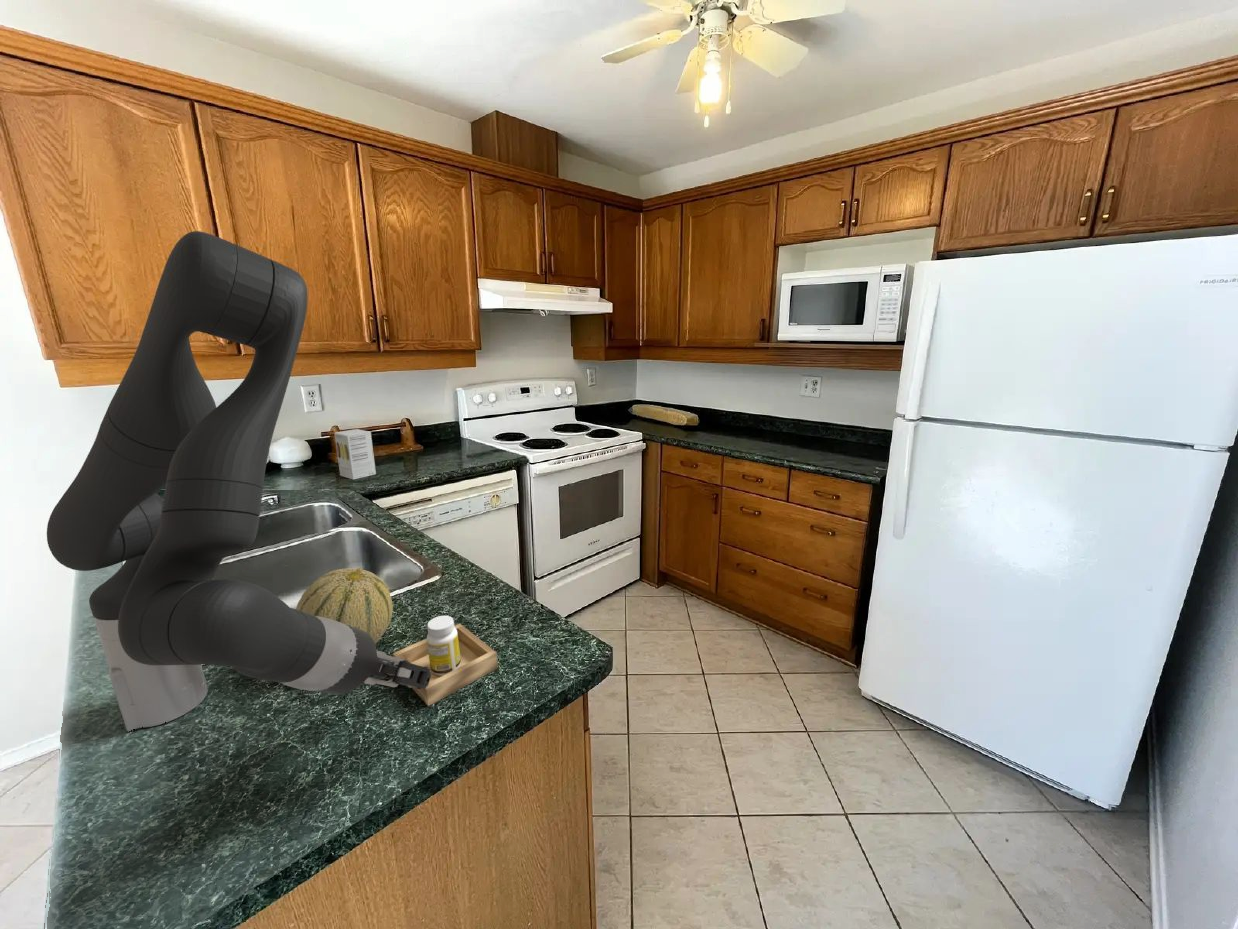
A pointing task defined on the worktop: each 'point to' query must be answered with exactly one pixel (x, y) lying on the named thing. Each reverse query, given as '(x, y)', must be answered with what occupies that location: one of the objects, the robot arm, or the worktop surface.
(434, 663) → the supplement bottle
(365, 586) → the cantaloupe
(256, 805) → the worktop surface
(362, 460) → the supplement box
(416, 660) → the box
